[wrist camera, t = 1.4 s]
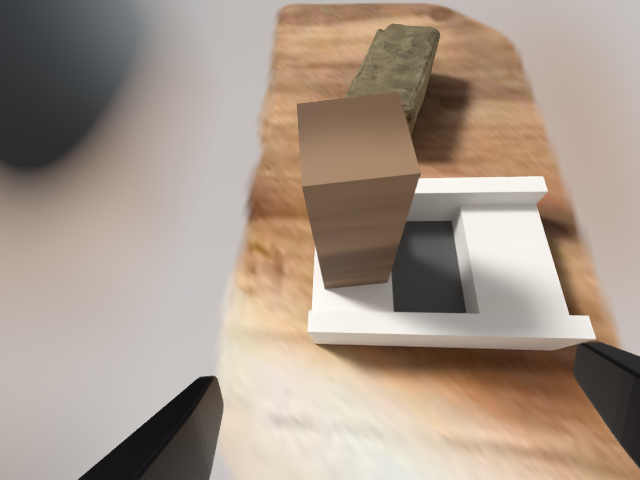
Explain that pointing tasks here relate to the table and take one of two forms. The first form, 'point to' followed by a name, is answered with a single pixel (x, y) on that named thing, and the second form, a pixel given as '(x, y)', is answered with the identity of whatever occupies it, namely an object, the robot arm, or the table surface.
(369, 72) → the stone block
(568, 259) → the table surface
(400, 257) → the walled channel
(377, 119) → the walnut block
